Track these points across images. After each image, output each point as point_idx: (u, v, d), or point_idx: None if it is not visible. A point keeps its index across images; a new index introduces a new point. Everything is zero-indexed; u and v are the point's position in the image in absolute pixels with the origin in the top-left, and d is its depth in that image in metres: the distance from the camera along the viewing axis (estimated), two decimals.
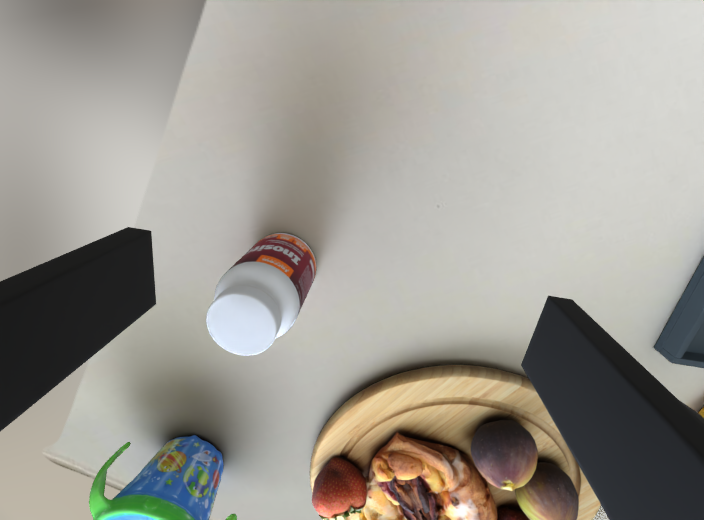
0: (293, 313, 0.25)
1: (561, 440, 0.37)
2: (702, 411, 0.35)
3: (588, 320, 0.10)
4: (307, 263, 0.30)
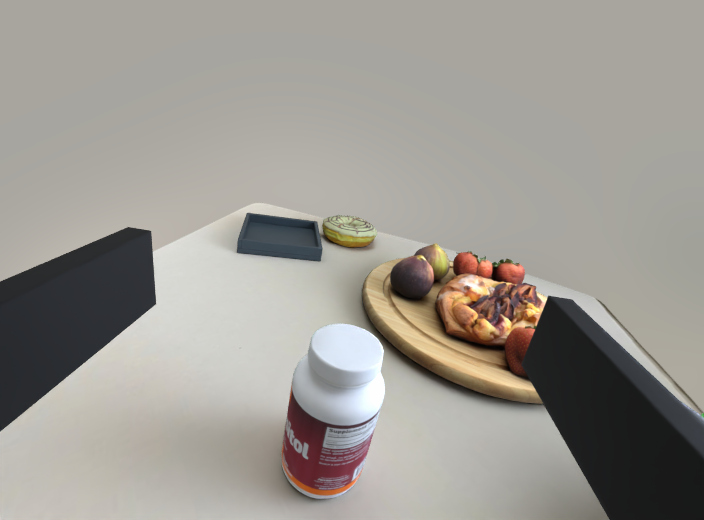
0: None
1: None
2: (348, 244, 0.66)
3: (588, 320, 0.10)
4: None
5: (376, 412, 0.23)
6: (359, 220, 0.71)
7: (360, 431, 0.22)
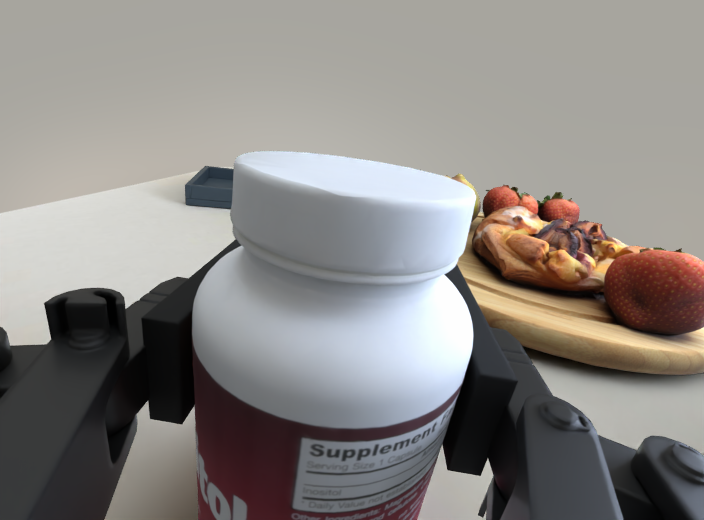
0: None
1: None
2: None
3: (457, 274, 0.12)
4: None
5: (461, 380, 0.07)
6: None
7: (418, 444, 0.07)
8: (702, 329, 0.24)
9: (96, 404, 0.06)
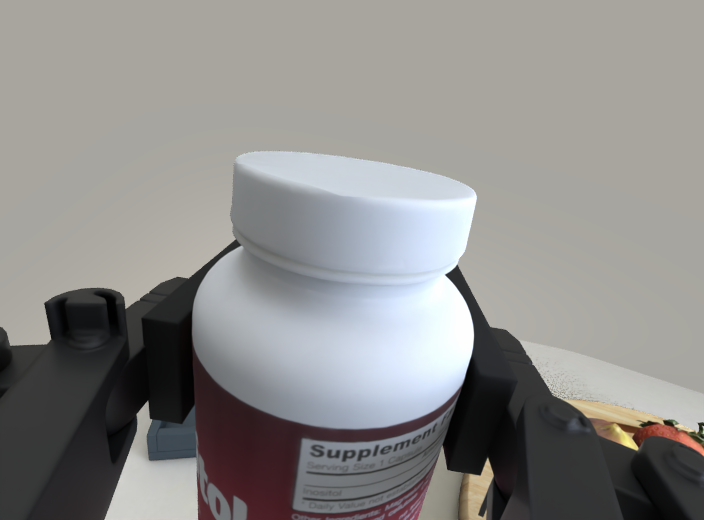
0: None
1: None
2: None
3: (456, 274, 0.12)
4: None
5: (462, 381, 0.07)
6: None
7: (418, 445, 0.06)
8: None
9: (96, 404, 0.06)
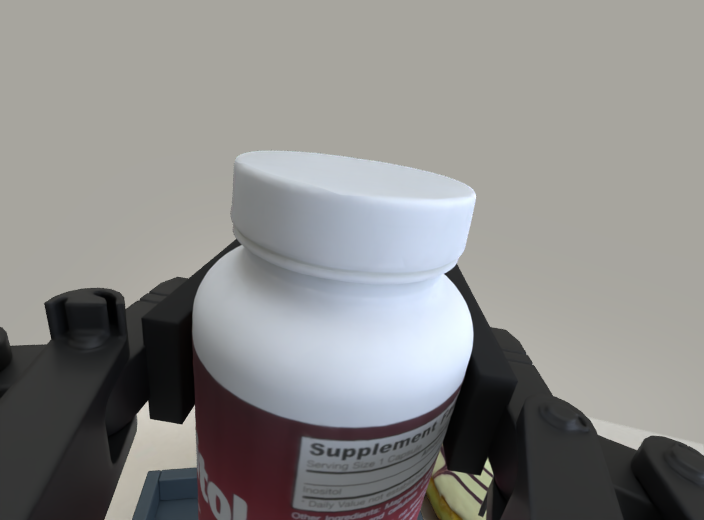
0: None
1: None
2: None
3: (456, 274, 0.12)
4: None
5: (461, 380, 0.07)
6: None
7: (418, 443, 0.07)
8: None
9: (96, 404, 0.06)
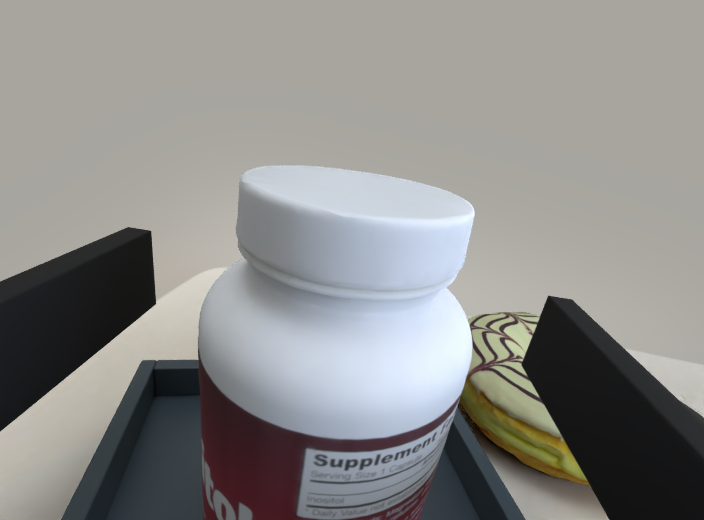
0: None
1: None
2: None
3: (588, 320, 0.10)
4: None
5: (460, 391, 0.07)
6: None
7: (418, 453, 0.07)
8: None
9: None
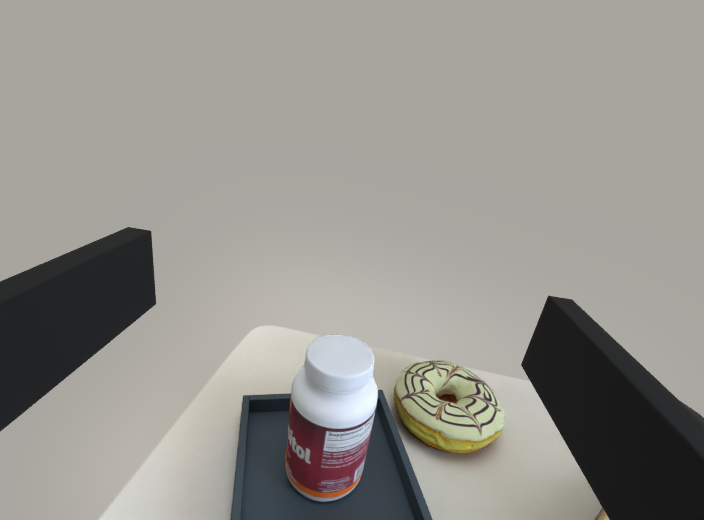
0: None
1: None
2: (460, 452, 0.31)
3: (588, 320, 0.10)
4: None
5: (371, 414, 0.24)
6: (460, 376, 0.37)
7: (357, 433, 0.24)
8: None
9: None
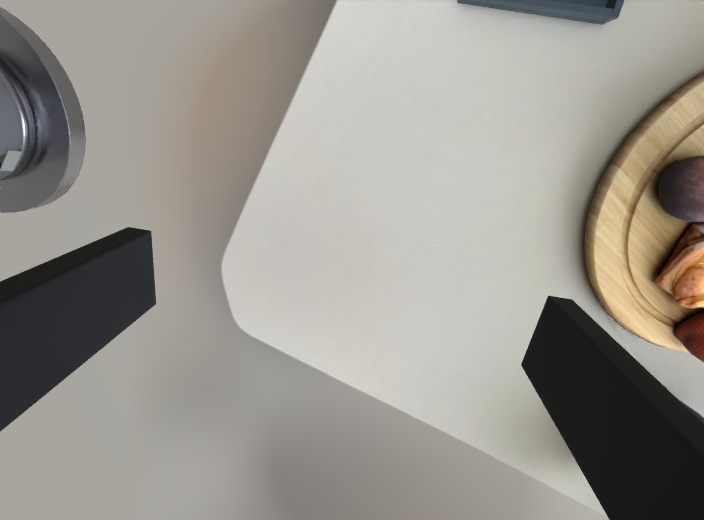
0: None
1: None
2: None
3: (588, 320, 0.10)
4: None
5: None
6: None
7: None
8: None
9: None
